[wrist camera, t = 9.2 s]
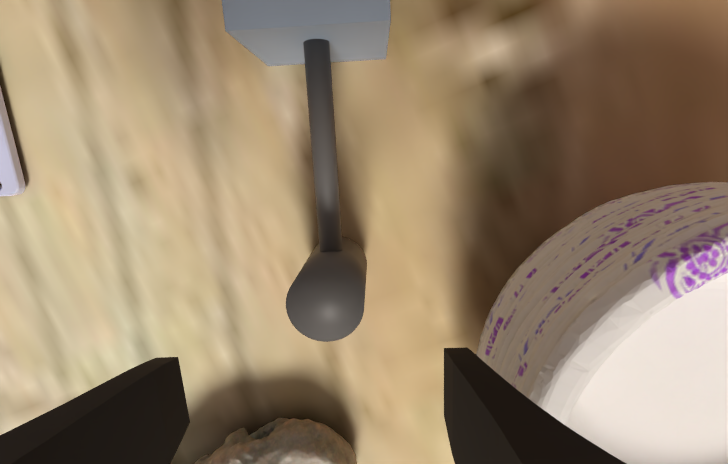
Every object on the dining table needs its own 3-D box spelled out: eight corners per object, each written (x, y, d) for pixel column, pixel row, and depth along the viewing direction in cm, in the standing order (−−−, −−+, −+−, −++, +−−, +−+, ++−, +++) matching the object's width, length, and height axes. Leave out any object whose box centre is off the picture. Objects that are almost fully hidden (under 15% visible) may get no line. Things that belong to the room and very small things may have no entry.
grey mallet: (290, 286, 17) (255, 343, 12) (249, -130, 14) (172, -304, 8) (393, 282, 17) (401, 339, 12) (379, -141, 13) (382, -326, 8)
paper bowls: (461, 470, 19) (520, 684, 11) (450, 190, 16) (523, 224, 8) (754, 455, 18) (1030, 673, 11) (804, 160, 15) (1249, 165, 8)
